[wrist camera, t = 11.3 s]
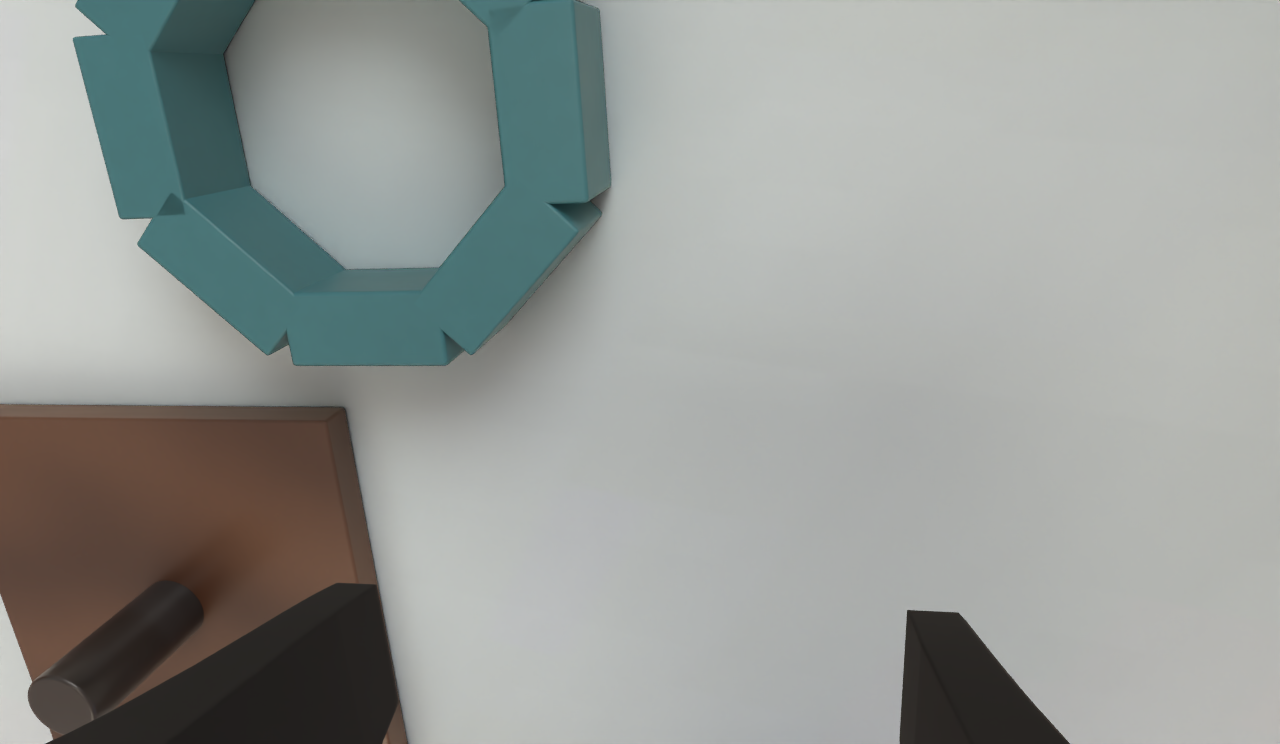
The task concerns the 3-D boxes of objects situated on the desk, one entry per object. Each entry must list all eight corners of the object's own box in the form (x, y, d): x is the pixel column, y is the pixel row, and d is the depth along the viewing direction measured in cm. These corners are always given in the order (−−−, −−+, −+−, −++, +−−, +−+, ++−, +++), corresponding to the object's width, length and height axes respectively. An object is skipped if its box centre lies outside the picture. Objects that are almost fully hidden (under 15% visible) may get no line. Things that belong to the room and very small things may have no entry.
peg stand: (411, 758, 25) (327, 912, 21) (81, 729, 27) (-63, 864, 23) (345, 406, 21) (224, 497, 17) (-33, 403, 23) (-235, 484, 19)
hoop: (621, 333, 20) (600, 366, 17) (223, 336, 21) (157, 367, 19) (587, -183, 16) (556, -224, 14) (115, -128, 18) (19, -157, 16)
